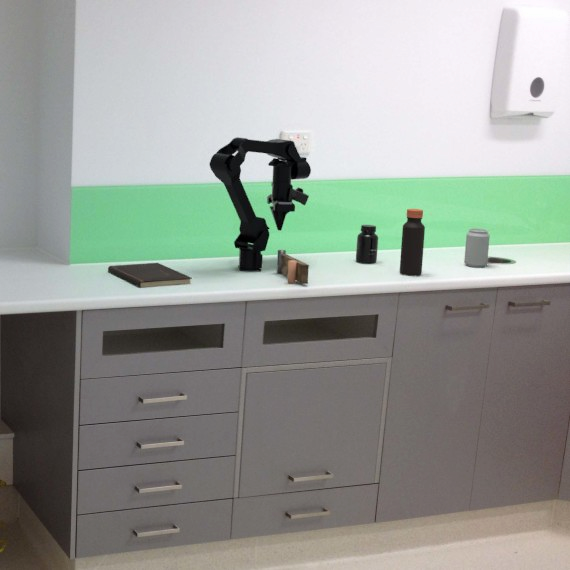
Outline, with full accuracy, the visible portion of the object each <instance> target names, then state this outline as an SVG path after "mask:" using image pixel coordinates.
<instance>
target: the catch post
mask: <svg viewBox="0 0 570 570" xmlns="http://www.w3.org/2000/svg"><path fill="white" fill-rule="evenodd" d="M296 265H297V261H296V260H288V276H287V284H292V285H293V284H297V283H296V282H297V281H296Z"/></svg>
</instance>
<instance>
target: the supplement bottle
mask: <svg viewBox="0 0 570 570" xmlns="http://www.w3.org/2000/svg"><path fill="white" fill-rule="evenodd" d="M376 232H377V226H376V225H373V224H361V227H360V232H359V233H358V234H357V237H356V250H355V251H356V252H355V261H356V262H357V263H359V264H367V265H369V264H370V265H373V264H376V263H377V259H378V247H379V236H378V234H376Z"/></svg>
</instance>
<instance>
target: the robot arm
mask: <svg viewBox="0 0 570 570" xmlns="http://www.w3.org/2000/svg"><path fill="white" fill-rule="evenodd" d="M236 152H237V153H236ZM248 153H259V154H266V155H267V156H270V157H272V159H271V160H270V162H268V164H267V165H268V166H269V167H273V168H272V182H270V183H271V187H272V189H271V194H270V193H269V194H268V196H267V197H266V203H267V204H268V205H270V204H272V206H271V205H270V206H269V209H270V212H271V215H272V217H273V220H274V223H275V227H276V229H277V231H282V229H283V227H284V224H285V223H284V222H285V219H286V216H287V215H288V214H289V213H290V212H292V213H293V212H295V211H296V204H294V203H293V201H295V202H296V203H300V204H301V205H302V206H306V204H307V202H308V200H309V197H310V195H308V194H306V193H305V192H304V189H303V188H302V187H297V188H296V189H295V188H293V187H294V185H292V180H294V181H295V180H306V179H307V178H309V177H310V175H311V173H312V169H311V165H310V164H309V162H308V161H307V157H304V156H301V155H300V153H299V151H298V149H297V146H296V144H295V142H294V141H293V140H288V139H281V138H274V139H273V138H272V139H269V140H256V139H248V138H245V137H234V138H232V140H231V141H230V142H229V143H228V144H225V145H224V146H222V147H221V148H219V149H218V150H217V152H216V153H215V154H213V155H212V156H211V159H210V161H209V167H210V170H211V171H212V173H213V174H214V176H215V177H216V179H218V180H219V181H220V182H221V183H222V184H223V185H224V186H225V189H226V192H227V194H228V196H229V198H230V201H231V202H232V205H233V208H234V210H235V211H236V214H237V217H238V218H239V221H240V224H239V234H238V236H237V237H236V239H235V240H234V242H233V245H234V248H235V249H239V252H238V255H239V257H238V265H237V267H238V270H239V271H240V272H262V268H263V253H262V252H264V251H266V250H267V249H266V248H267V245H268V242H269V238H270V231H269V230H270V227H269V226H268V225H267V221H266V219H265V218H264V217H259V216H257V215H256V213H255V211H254V209H253V206H252V204H251V201H250V199H249V197H248V194H247V193H246V192H247V191H246V190H245V188H244V185H243V182H242V181H241V178H240V177H241V174H242V173H241V172H242V169H241V166H242V165H243V163H244V162H245V160H246V154H248Z"/></svg>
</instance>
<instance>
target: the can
mask: <svg viewBox="0 0 570 570" xmlns="http://www.w3.org/2000/svg"><path fill="white" fill-rule="evenodd" d="M488 232H489V230H488V229H484V228H469V229H468V232H467V233H466V236H465V237H466V238H465V248H464V249H465V250H464V258H463V259H464V260H463V261H464V262H463V263H464V264H465V266H467V267H470V268H484V267H485V266H487V265H488V260H489V250H490V248H489V247H490V238H491V237H490V236H491V235H490V234H489V233H488Z"/></svg>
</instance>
